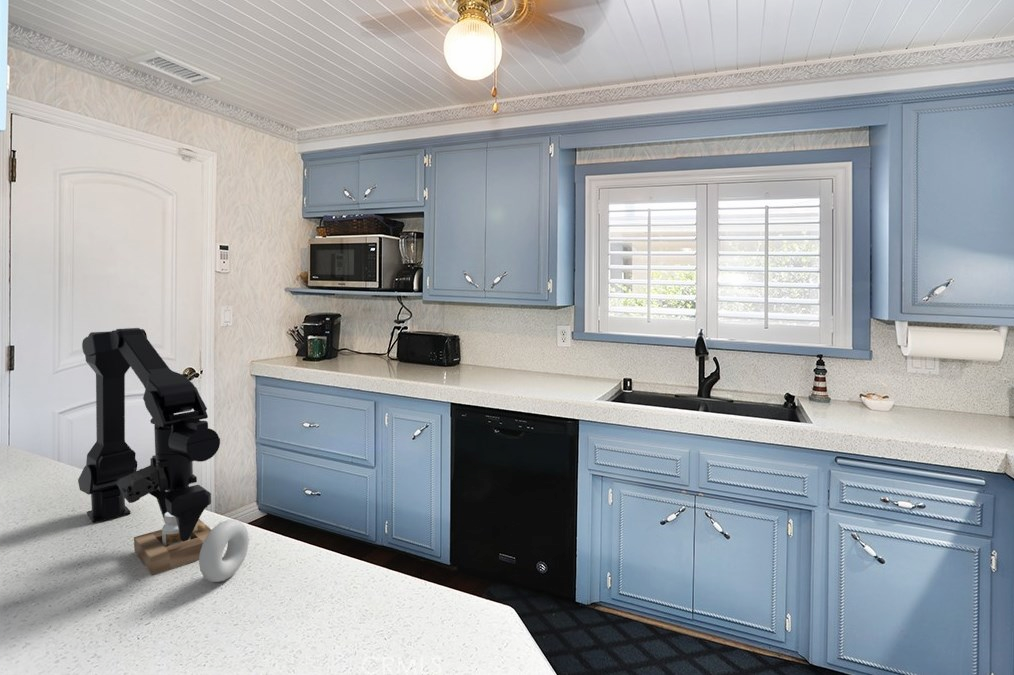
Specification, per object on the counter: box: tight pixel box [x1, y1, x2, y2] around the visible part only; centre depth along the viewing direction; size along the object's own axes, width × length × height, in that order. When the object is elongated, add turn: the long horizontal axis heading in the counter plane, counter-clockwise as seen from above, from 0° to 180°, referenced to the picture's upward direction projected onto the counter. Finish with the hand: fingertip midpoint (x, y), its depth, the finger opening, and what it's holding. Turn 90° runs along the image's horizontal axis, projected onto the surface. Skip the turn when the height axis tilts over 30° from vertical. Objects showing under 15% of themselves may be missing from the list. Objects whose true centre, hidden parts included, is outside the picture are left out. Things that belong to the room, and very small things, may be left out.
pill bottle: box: [161, 512, 190, 547], centre depth 99 cm, size 4×4×8 cm
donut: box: [198, 519, 250, 583], centre depth 91 cm, size 10×4×10 cm, turn 168°
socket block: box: [133, 518, 212, 576], centre depth 99 cm, size 11×11×4 cm
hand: (176, 532), depth 99 cm, fingers open, 9 cm apart
